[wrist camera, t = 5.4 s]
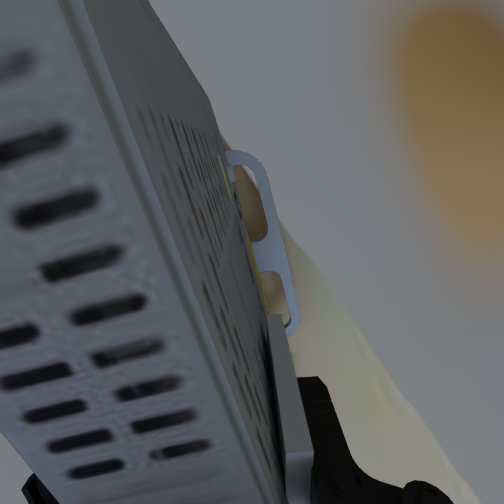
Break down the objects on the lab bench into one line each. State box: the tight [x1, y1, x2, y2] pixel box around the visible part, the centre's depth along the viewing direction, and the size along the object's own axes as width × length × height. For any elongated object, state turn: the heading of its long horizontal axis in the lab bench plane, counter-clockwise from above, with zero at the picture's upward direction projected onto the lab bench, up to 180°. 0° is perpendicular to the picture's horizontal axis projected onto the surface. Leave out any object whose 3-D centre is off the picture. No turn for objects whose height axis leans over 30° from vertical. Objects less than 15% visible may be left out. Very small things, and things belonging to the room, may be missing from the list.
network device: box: [0, 0, 300, 504], centre depth 16 cm, size 26×9×20 cm, turn 15°
